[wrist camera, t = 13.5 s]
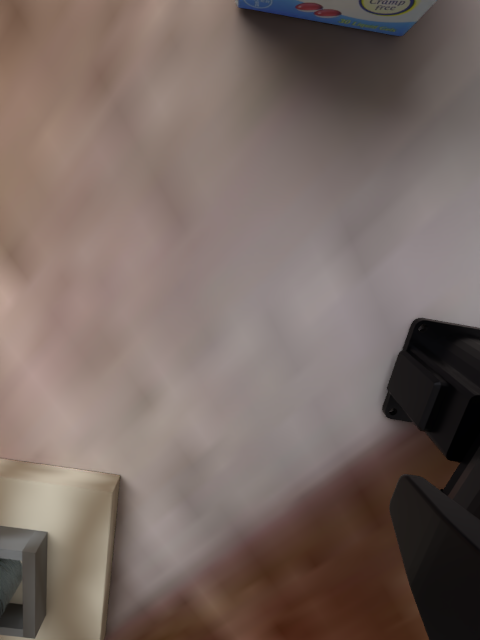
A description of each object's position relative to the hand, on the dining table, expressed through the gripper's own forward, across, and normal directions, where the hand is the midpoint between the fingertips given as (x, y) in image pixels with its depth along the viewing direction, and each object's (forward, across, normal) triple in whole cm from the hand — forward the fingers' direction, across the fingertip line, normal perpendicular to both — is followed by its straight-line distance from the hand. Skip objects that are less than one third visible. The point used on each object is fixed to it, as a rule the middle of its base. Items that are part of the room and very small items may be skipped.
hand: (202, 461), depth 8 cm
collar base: (+13, +13, +21) cm, 28 cm away
